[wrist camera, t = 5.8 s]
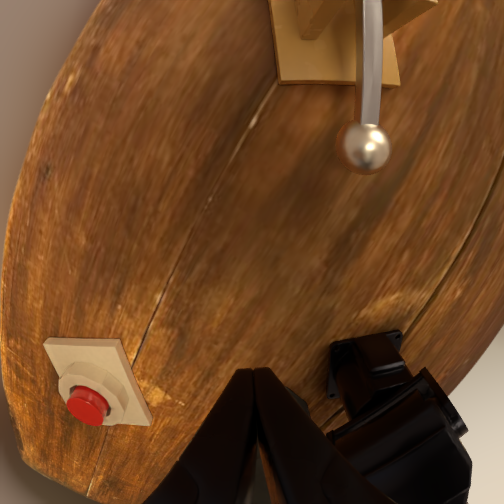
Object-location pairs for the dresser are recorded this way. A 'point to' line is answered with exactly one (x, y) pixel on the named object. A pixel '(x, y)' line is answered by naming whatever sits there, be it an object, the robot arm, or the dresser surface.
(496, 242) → the dresser surface
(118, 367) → the button block
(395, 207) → the dresser surface
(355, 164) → the tap lever
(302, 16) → the tap bracket
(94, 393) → the button
